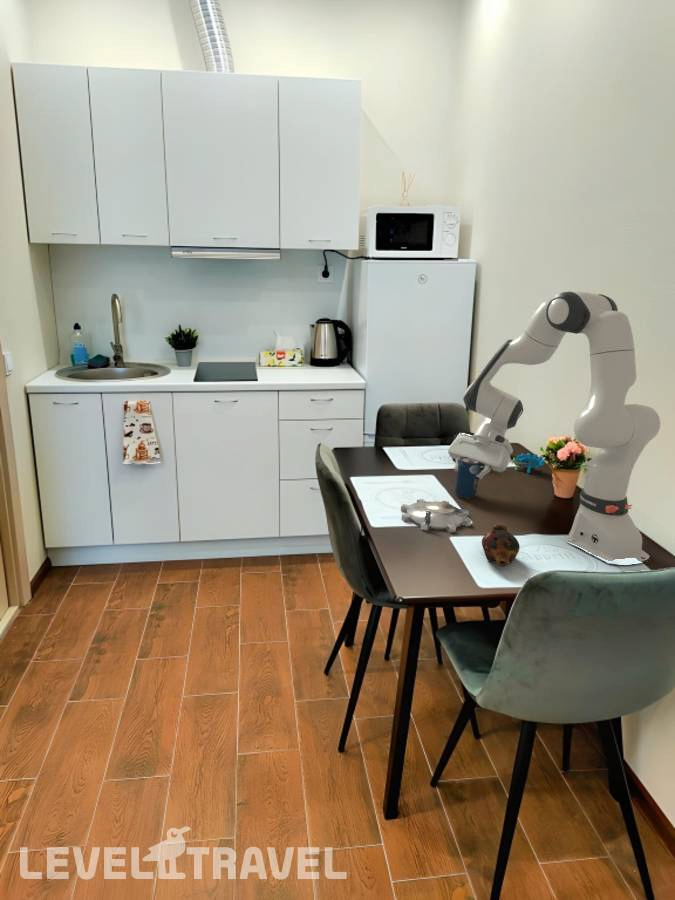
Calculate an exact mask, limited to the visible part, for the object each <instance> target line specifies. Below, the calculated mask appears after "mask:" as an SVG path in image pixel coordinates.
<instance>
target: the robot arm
mask: <svg viewBox="0 0 675 900" xmlns="http://www.w3.org/2000/svg"><path fill="white" fill-rule="evenodd" d="M567 333H571V334H575V335H578V334H584V335H585V336H586V337H587V339H588V344H589V361H590V363H589V364H590V382H591V383H590V390H589V395H588V398H587V401H586V403H585V406H583V408H582V410H581V411H580V413H579V414H578V415H577V416H576V418H575V420H574V424H573V433H574V435H575V437H576V439H577V441H578V442H579V443H580V444H581V445H583V446H585V447H587V448H588V447H590V448H594V449H595V448H596V449H600V450H599V452H597V454H596V455H595V456H594V457H593V458H591V459H590V460H589V462H588V464H587V469H586V473H585V478H584V485H583V487H582V489H581V491H580V493H579V500H578V501H579V507H578V509H577V511H576V514H575V516H574V520H573V523H572V527H571V529H570V531H569V533H568V536H567V537H566V541H568V542H570V543H572V544H575V545H577V546H579V547H581V548H583V549H585V550H587V551H588V552H591V553H592V554H594V555H596V556H599V557H601V558H603V559H605V560H608V561H613V560H615V559H625V558H636V559H637V560H638V561H644V560H647V559H649V557H651V556H650V555H649V553H647V552H646V551H644V550H643V549H642V548H643V536H642V534H641V532H640V528H638V527H637V526H636V524H635V523H634V521H633V519H632V518H631V516H630V514H629V510H631V509H632V508H633V507H632V506H633V505H632V504H629V503H628V497H627V492H628V488H629V484H630V479H631V475H632V471H633V469H634V468H635V465H636V463H637V461H638V459H639V457H640V456H641V454H642V452H643V451H644V449H645V447H646V446H647V445H648V444H649V443H650V441H652V440H653V439H654V438H656V436H657V435H658V434H659V431H660V428H661V419H660V416H659V413H658V412H657V411H656V410H655V408H653V407H651V406H647V405H643V404H637V403H629V404H628V403H626V397H627V395H628V392H629V390H630V388H631V387H632V386H633V385H634V384H635V383H636V380H637V367H636V353H635V352H636V351H635V344H634V343H635V342H634V337H633V332H632V327H631V324H630V321H629V318H628V315H627V314H625V313H624V312H622V311H619V309H618V306H617V304H616V302H615V301H614V300H613V299H612V298H611V297H609V296H607V295H605V294H601V293H598V294H597V293H592V292H589V291H563V292H560V293H557V294H555V295H554V296H553V297H551V298H550V299H546V300H544V301H542V302H541V303H540V305H538V307H537V308H536V309H535V310H534V312H533V313H532V315H531V317H530V318H529V320H528V321H527V323H526V325H525V326H524V329H523V331H522V332H521V333H520V334H519V335H518V336H517V337H516V338H513V339H507V340H506V341H505V342H504V343H503V344H502V345H501V346H500V348H499V349H498V350H497V351H496V352H495V354H494V355H493V356H492V357H491V359H490V360H489V361H488V363H487V364H486V366H484V368H483V369H482V371H481V372H480V374H479V375H478V376H477V378H476V379H475V380H474V381H472V382H471V384H469V385H468V387H467V388H466V390H465V392H464V395H463V398H462V400H463V403H464V405H465V407H466V409H467V410H470V411H472V412H474V413H477V414H479V415H482V416H483V420H482V422H480V423H479V425H478V426H477V429H476V431H475V432H474V433H475V434H474V435H469V434H466V433H463V434H459V435H458V436H457V437H456V439H455V440H454V439H453V440H454V441H452V443H451V444H450V445H449V447H447V453H448V455H449V456H450V458H451V459H452V458H455V459H456V462H455V465H454V467H453V471H454V472H456V473H457V471H458V465H459V462H460V461H461V458H463V457H467V458H470V459H472V460H475V461H478V462H479V461H480V462H479V463H480V466H481V468H483V469H482V470H480V472H479V471H478V473H477V474H476V477H477V478H479V480H483V478H484V476H486V475H487V474H488V473H490V472H491V471H495V472H498V473H502V472H505V471H506V469H507V468H508V465H509V462H510V460H511V455H512V454H513V452H514V449H513V447H512V445H511V442H510V441H509V439H507V438H506V436H505V435H506V433H507V432H508V430H509V429H512V428H514V427H516V425H517V422H518V420H519V419H520V417H521V416H522V414H523V412H524V407H523V402H522V401H521V399H519V398H518V397H516V396H514V395H513V394H511V393H508V392H506V391H504V390H502V389H500V388H498V387H496V386H494V385H492V383H491V381H492V380H493V378H494V377H495V376H496V375H497V374H498V372H499V371H500V369H501V368H502V367H503V366H505V365H508V364H518V365H519V364H520V365H526V366H529V365H530V366H533V365H541V364H544V363H546V362H547V361H549V360H550V359H551V358H552V357H553V355H554V354H555V353H556V351H557V350H558V348H559V345H560V344H561V342H562V340H563V338H564V336H565V335H566V334H567ZM641 557H642V558H645V559H642V558H641ZM649 560H650V559H649Z"/></svg>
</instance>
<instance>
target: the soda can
mask: <svg viewBox="0 0 675 900" xmlns="http://www.w3.org/2000/svg"><path fill="white" fill-rule="evenodd" d="M479 462H480V461H479ZM479 462H478V461H475V460H472V459H470V458H467V457H463V458H461V461H460V462H459V465H458V471H457V472H456V479H455V486H454V492H455V495H456V496H458V497H459V498H463V499H472V498H474V497H475V496H476V495H477V492H478V491H477V490H478V485H479V480H480V479H479V478H477V477H476V474H477V473H478V471H479V472H481V468H482V467H481V466H480V463H479Z"/></svg>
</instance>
